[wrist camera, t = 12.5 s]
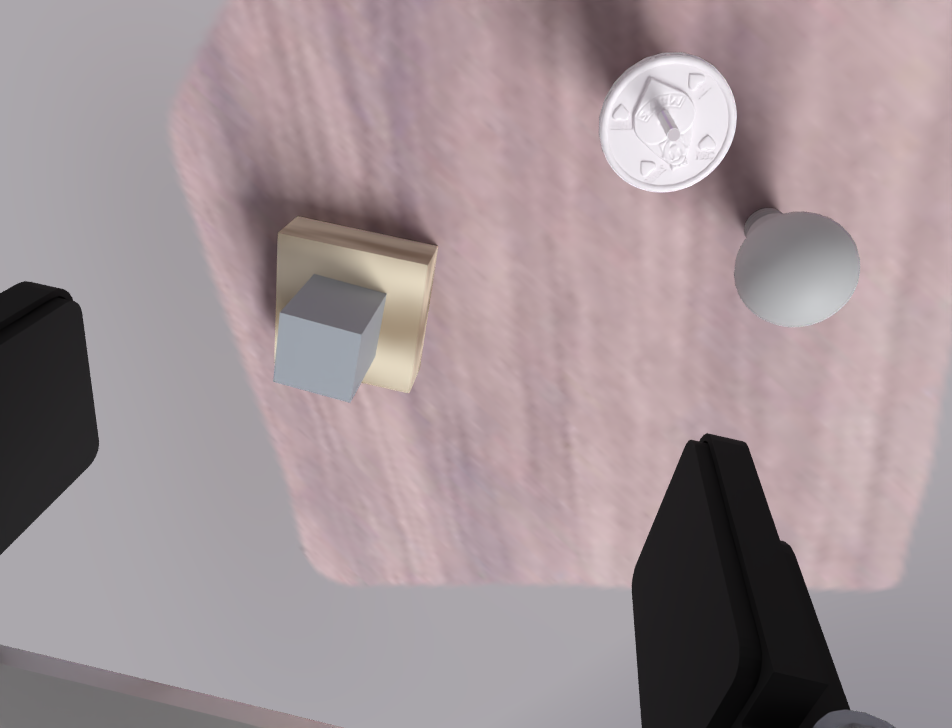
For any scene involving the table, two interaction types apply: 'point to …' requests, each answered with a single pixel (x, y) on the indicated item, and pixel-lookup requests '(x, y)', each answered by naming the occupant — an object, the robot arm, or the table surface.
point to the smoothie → (667, 122)
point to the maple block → (365, 286)
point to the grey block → (328, 337)
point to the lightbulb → (795, 267)
